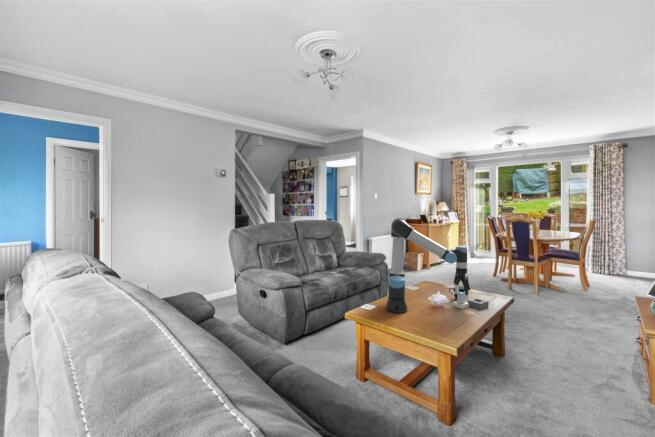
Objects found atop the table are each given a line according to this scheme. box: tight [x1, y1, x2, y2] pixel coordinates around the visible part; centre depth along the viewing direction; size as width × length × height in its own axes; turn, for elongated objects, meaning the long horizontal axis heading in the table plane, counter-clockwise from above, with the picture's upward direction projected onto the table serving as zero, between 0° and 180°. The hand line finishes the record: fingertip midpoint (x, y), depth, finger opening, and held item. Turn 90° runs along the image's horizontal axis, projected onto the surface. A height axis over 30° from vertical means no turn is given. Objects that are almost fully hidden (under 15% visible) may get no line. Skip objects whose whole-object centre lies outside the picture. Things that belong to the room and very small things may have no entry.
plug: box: [456, 292, 466, 304], centre depth 228 cm, size 4×4×10 cm
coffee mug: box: [448, 285, 464, 301], centre depth 246 cm, size 12×9×10 cm
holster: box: [452, 300, 470, 310], centre depth 228 cm, size 8×8×4 cm
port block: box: [467, 297, 489, 310], centre depth 228 cm, size 10×10×5 cm
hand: (461, 296), depth 228 cm, fingers open, 13 cm apart
